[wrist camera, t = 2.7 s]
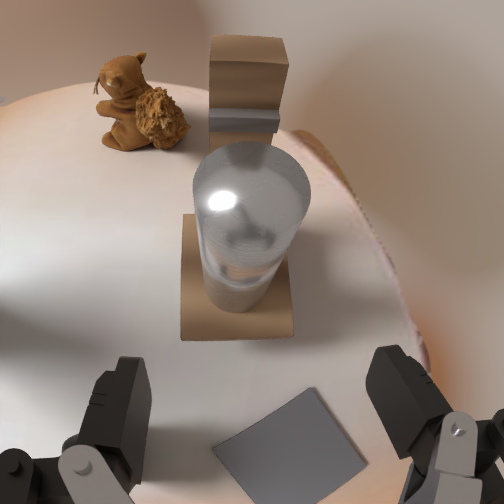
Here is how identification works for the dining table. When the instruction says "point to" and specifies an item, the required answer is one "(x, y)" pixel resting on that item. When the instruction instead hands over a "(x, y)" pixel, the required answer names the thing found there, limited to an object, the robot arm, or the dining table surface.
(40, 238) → the dining table surface
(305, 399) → the felt pad
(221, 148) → the steel cylinder
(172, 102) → the stuffed squirrel
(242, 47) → the walnut standard
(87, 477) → the robot arm
